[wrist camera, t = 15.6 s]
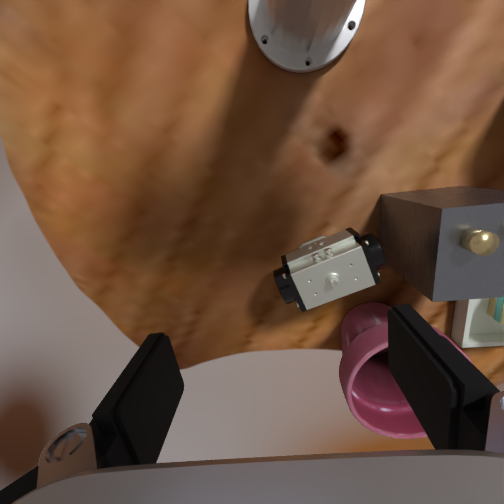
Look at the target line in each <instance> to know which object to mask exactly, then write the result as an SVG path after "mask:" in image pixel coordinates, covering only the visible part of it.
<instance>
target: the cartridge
mask: <svg viewBox="0 0 504 504" xmlns="http://www.w3.org/2000/svg"><path fill="white" fill-rule="evenodd" d="M487 314H488V315H489V316H491V317H492V318H493V319H494V320H496V321H497V322H499V323H501V324H503V325H504V297H499V298H489V303H488V309H487Z"/></svg>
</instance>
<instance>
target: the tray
mask: <svg viewBox="0 0 504 504" xmlns="http://www.w3.org/2000/svg"><path fill="white" fill-rule="evenodd" d="M488 303H489V298H484V299H468V300H456V302H455V309H454V316H453V324H452V331H451V338H452V339H453V340H454V341H455V342H456V343H457V344H458V345H459V346H460V347H462V348H468V347H489V346H504V325H503V324H501V323H499V322H497V321H496V320H494V319H493V318H492V317H491V316H489V315H488V314H487V309H488Z"/></svg>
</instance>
